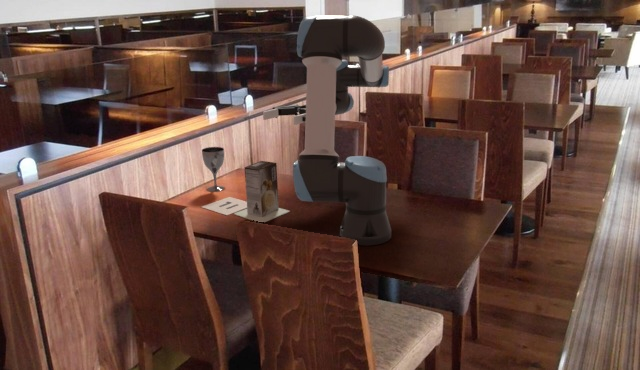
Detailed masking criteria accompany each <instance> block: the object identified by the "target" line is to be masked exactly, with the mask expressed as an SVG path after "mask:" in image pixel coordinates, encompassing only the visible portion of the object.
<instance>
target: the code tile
mask: <svg viewBox="0 0 640 370" xmlns="http://www.w3.org/2000/svg"><path fill="white" fill-rule="evenodd" d="M201 209H205V210H208V211H212V212H215V213H218V214H221V215H223V216H230V215H232V214H233V215H234V213H237V212H239V211H242V210H245V209H247V200H246V201H245V200H242V199H238V198H236V197H232V196H227V197H224V198H222V199H220V200H216V201H214V202H210V203H207V204H205V205H201Z"/></svg>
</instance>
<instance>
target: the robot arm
mask: <svg viewBox="0 0 640 370" xmlns="http://www.w3.org/2000/svg"><path fill="white" fill-rule="evenodd" d="M385 42H386V41H385V37H384V34H383V33H382V31H381V30H380V29H379V27H377V25H375V24H374V23H373V22H372V21H370V20H369V19H367V18H365V17H362V16H357V15H313V16H305V17H303V18H302V20H301V22H300V24H299V27H298V31H297V38H296V53H297V54H296V55H297V56H298V57H299V58H301V61H302V64H303V65H304V66H305V67H306V90H305V91H306V95H305V96H306V97H305V104H302V105H299V104H294V105H286V106H285V105H283V106H273V107H272V109H269V110H265V111H262V118H263V119H262V120H264V121H265V120H270V119H274V118H275V119H278V117H279V116H281V117H283V116H293V125H294V126H297V125H300V124H305V125H304V129H305V130H304V131H305V132H304V133H305V134H304V150H302V151H301V152H300V153H299V154H298V160H296V161H294V162H293V164H292V180H293V186H294V191H295V194H296V197H297V199H298V200H300V201H302V202H312V203H317V202H318V203H345V212H344V216H343V217H342V221H341V223H340V228H339V237H340V236H341V237H346V238H350V239H355V240H357V241H358V244H359V245H358V246H367V247H368V246H377V245H378V246H379V245H382V244H384V243H387V242H388V241H390V239H392V227H391V224H390V221H389V217H388V215H387V207H386V206H387V181H388V177H387V167H386V165H385V164H384V162H383V161H381V160H379V159H377V158H374V157H370V156H367V155H365V156H363V155H355V156H353V155H352V156H347V157H346V159H345V161H344V162H342V161H340V155H339V154H338V153H337V152H336V150H335V130H336V129H335V128H336V125H335V124H336V120H335V119H336V116H338V115H343V114H345V113H348V112H350V111H351V110H352V109H353V107H354V103H355V101H354V98H353V96H352V94H351V93H350V92H349V88H386V87H388V86H389V83H390V82H389V81H390V67H389V66H388V65H383V64H384V62H383V53H384V51H385V46H386V45H385ZM346 57H347V58H349V57H351V58H352V57H355V58H356V57H357V58H358V62H359V65H351V64H350V65H349V62H348V60H347V59H343V58H346ZM341 237H340V238H341Z"/></svg>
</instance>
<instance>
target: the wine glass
mask: <svg viewBox="0 0 640 370" xmlns="http://www.w3.org/2000/svg"><path fill="white" fill-rule="evenodd" d="M201 155H202V157H201V158H202V161H203V163H204V165H205V167H206V168H207V169H208V170H209V171H210V172H211V173H212V177H213V182H214V183H213V185H212V186H208V187H206V189H205V191H207V192H210V193H211V192H213V193H214V192H217V193H218V192H222V191H225V190H226V187H225V186H223V185H217V174H218V172H219V170H220V169H221V167H222V166H223V165H224V162H225V148H224V147H222V146H210V147H209V146H208V147H204V148H202V149H201Z"/></svg>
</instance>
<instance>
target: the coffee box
mask: <svg viewBox="0 0 640 370" xmlns="http://www.w3.org/2000/svg"><path fill="white" fill-rule="evenodd" d="M277 168H278V166H277V162H272V161H268V160H267V161H266V160H260V161H257V162H254V163H252V164H249V165H246V166H245V167H244V180H245V181H244V182H245V196H246V202H247V208H246V209H247V212H248V214H250V215H255V216H259V217H264V216H265V215H267V214H269V213H271V212H273V211H275V210H277V209H279V208H280V206H279V189H278V169H277Z"/></svg>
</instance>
